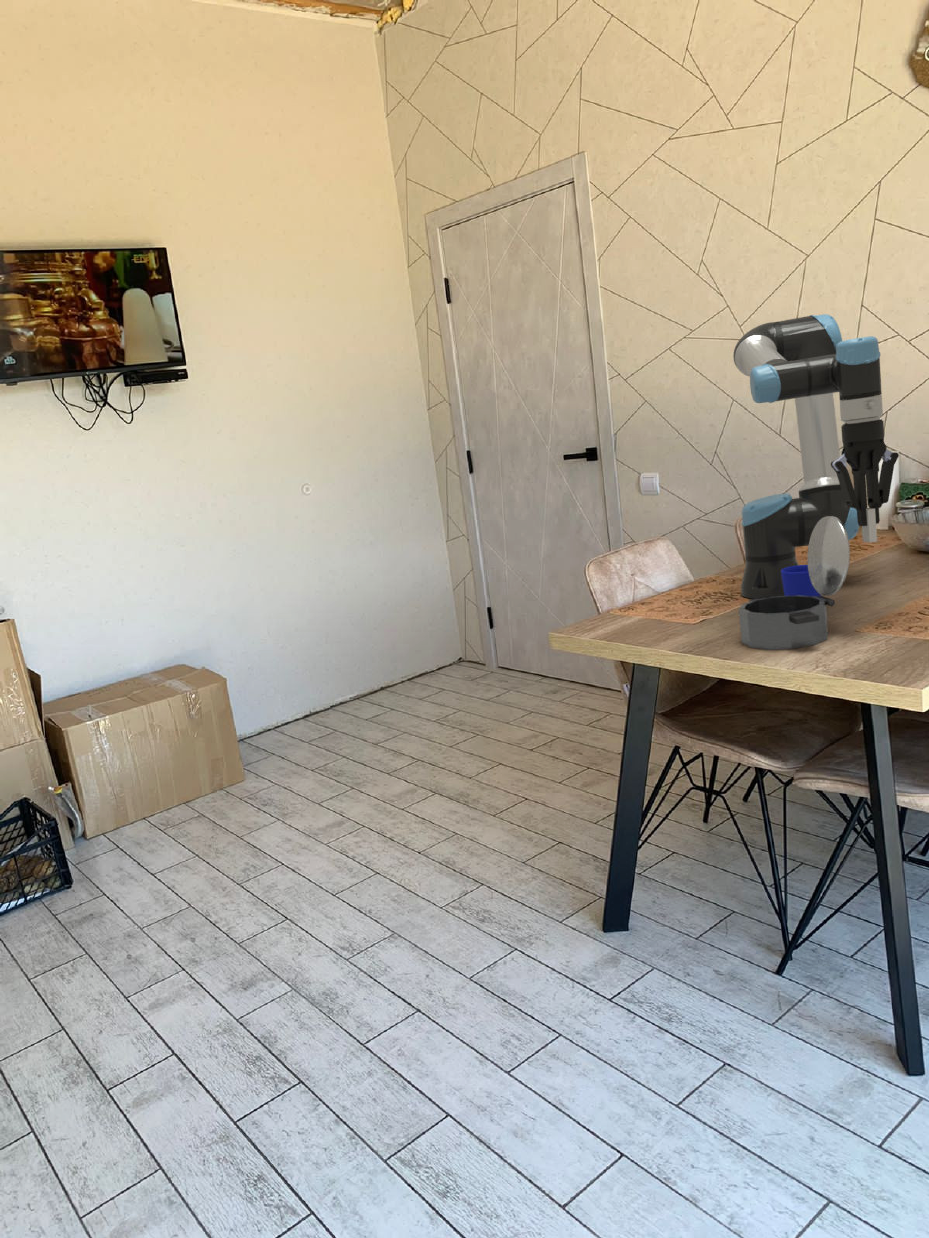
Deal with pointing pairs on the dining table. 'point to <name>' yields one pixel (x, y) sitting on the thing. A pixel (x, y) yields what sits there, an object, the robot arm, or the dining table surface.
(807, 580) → the mug
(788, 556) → the robot arm
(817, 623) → the pot
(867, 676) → the dining table surface
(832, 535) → the lid
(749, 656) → the dining table surface
